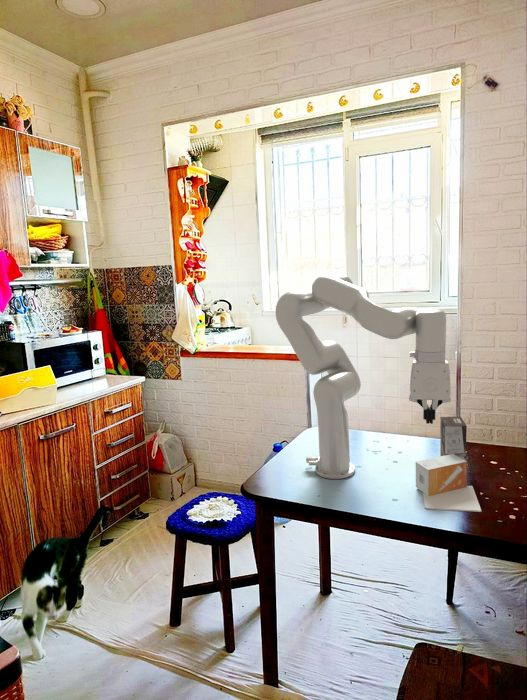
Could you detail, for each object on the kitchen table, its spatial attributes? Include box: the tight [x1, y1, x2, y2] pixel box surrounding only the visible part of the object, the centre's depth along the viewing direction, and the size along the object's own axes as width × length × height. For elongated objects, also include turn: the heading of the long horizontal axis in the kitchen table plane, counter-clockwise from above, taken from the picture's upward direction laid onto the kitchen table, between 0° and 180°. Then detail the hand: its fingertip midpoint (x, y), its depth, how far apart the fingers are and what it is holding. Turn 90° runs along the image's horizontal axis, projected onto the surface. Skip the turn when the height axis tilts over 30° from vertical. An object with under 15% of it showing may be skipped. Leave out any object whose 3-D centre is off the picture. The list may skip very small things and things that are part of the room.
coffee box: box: [439, 416, 468, 461], centre depth 153 cm, size 9×6×16 cm
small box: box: [415, 454, 468, 496], centre depth 143 cm, size 8×6×13 cm
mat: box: [422, 485, 482, 513], centre depth 138 cm, size 14×14×1 cm
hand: (429, 421), depth 135 cm, fingers closed
